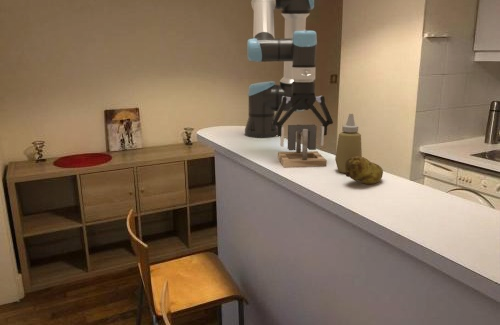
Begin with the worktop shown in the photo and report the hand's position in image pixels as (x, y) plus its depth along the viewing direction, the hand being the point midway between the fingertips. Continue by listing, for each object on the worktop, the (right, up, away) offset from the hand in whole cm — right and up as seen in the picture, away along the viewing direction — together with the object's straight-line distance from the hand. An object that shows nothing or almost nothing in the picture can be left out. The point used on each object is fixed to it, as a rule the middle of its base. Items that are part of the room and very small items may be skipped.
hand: (301, 145), depth 139 cm
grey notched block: (0, -1, 0) cm, 1 cm away
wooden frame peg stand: (0, -5, +1) cm, 6 cm away
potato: (+15, -12, -21) cm, 29 cm away
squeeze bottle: (+13, -9, -10) cm, 19 cm away
